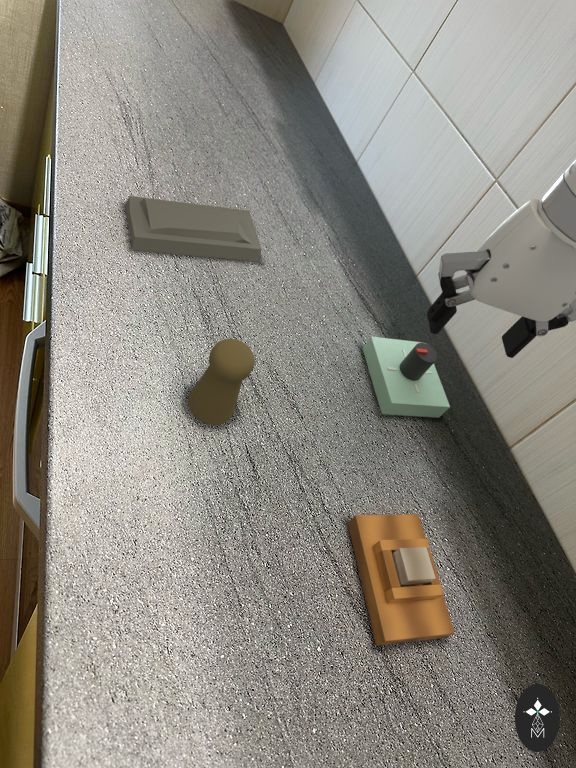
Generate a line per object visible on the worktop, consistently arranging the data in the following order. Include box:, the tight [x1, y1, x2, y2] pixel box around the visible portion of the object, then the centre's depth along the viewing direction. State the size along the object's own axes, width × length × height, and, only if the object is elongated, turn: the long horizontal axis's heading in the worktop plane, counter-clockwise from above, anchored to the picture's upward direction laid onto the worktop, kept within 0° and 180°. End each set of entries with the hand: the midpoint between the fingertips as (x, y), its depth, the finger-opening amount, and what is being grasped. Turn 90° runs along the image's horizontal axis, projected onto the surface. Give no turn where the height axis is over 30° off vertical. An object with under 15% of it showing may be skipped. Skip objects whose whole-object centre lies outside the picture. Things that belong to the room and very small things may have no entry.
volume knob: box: [400, 342, 438, 381], centre depth 83 cm, size 4×4×5 cm
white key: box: [392, 547, 436, 585], centre depth 64 cm, size 4×4×2 cm
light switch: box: [347, 513, 456, 647], centre depth 66 cm, size 9×14×4 cm, turn 10°
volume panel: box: [362, 336, 451, 419], centre depth 86 cm, size 10×12×3 cm
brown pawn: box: [187, 338, 256, 426], centre depth 68 cm, size 6×6×11 cm
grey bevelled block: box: [124, 195, 262, 263], centre depth 89 cm, size 10×20×4 cm, turn 105°
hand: (469, 336), depth 63 cm, fingers open, 9 cm apart
